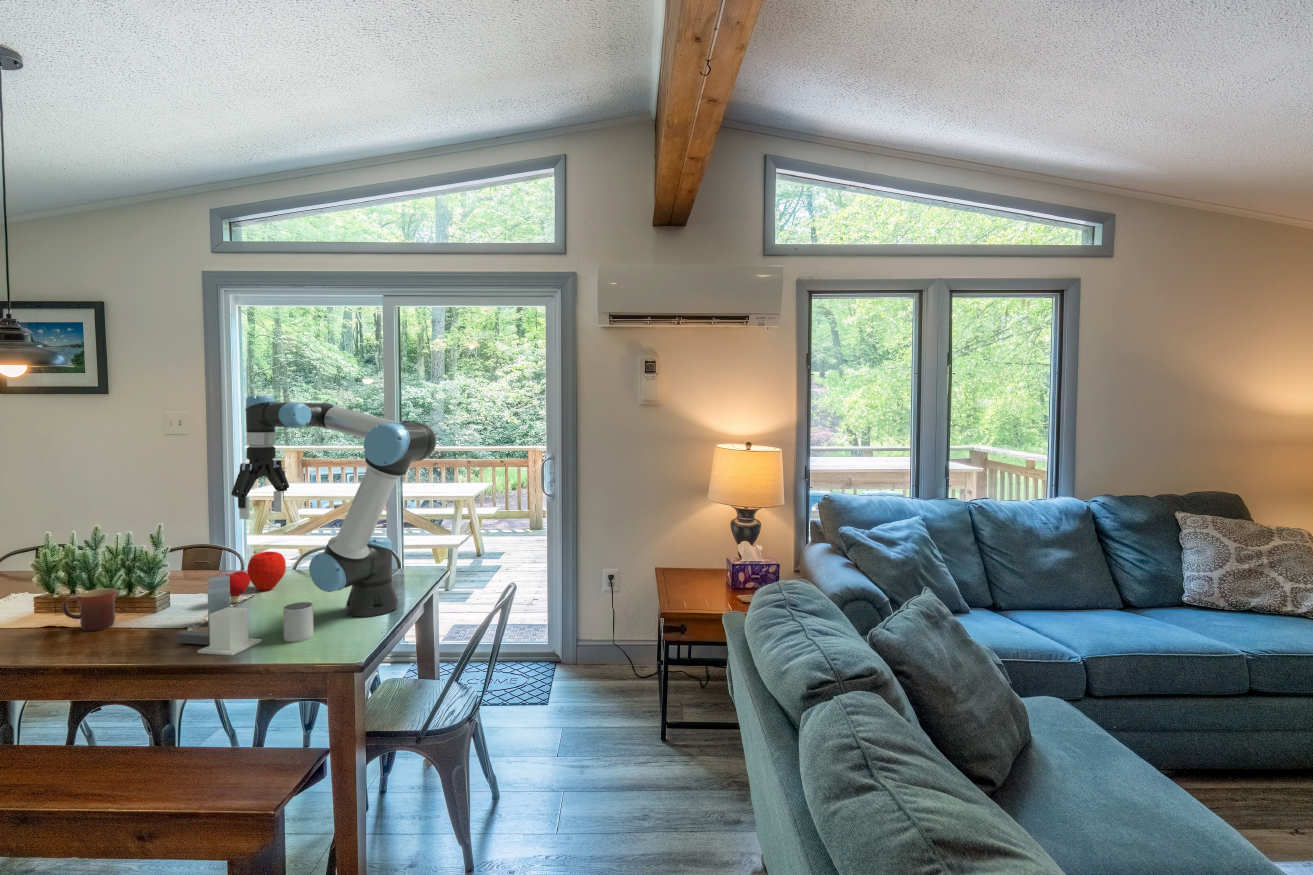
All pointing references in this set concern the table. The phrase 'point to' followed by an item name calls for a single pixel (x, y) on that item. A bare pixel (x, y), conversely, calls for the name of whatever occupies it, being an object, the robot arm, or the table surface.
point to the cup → (298, 621)
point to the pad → (232, 651)
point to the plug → (221, 630)
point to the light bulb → (238, 584)
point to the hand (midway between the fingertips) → (262, 515)
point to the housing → (218, 594)
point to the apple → (266, 569)
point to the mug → (94, 608)
